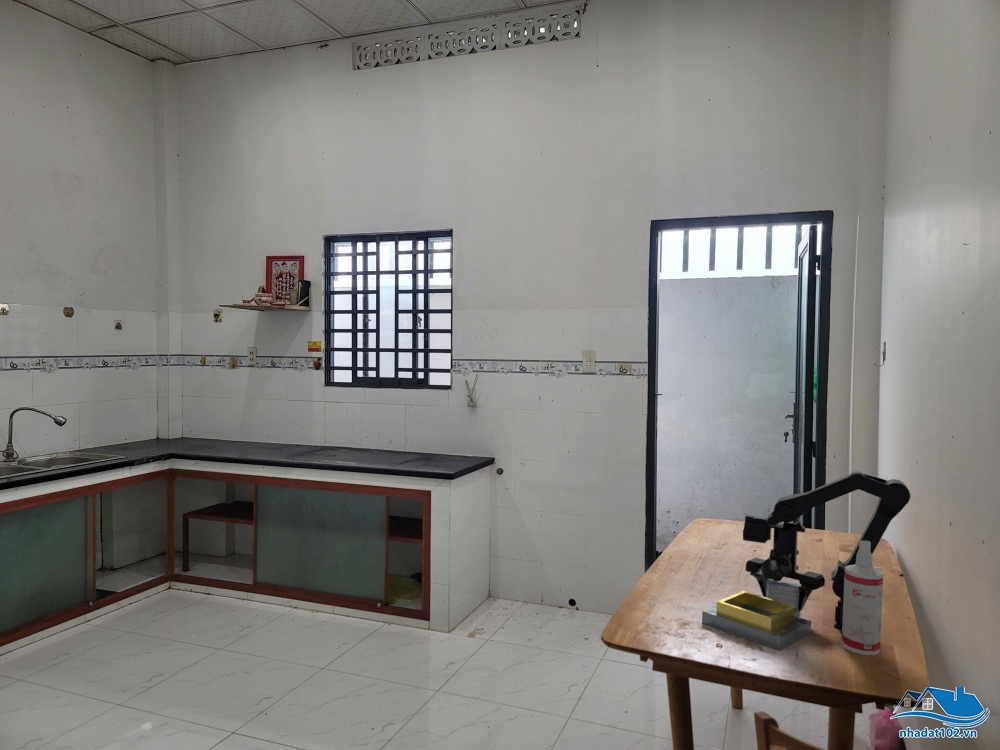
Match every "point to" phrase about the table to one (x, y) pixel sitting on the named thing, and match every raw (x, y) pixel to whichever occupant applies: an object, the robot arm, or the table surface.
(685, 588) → the table surface
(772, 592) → the medicine box
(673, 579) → the table surface
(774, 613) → the gold and grey tray
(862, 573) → the white squeeze bottle
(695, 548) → the table surface
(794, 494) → the robot arm
